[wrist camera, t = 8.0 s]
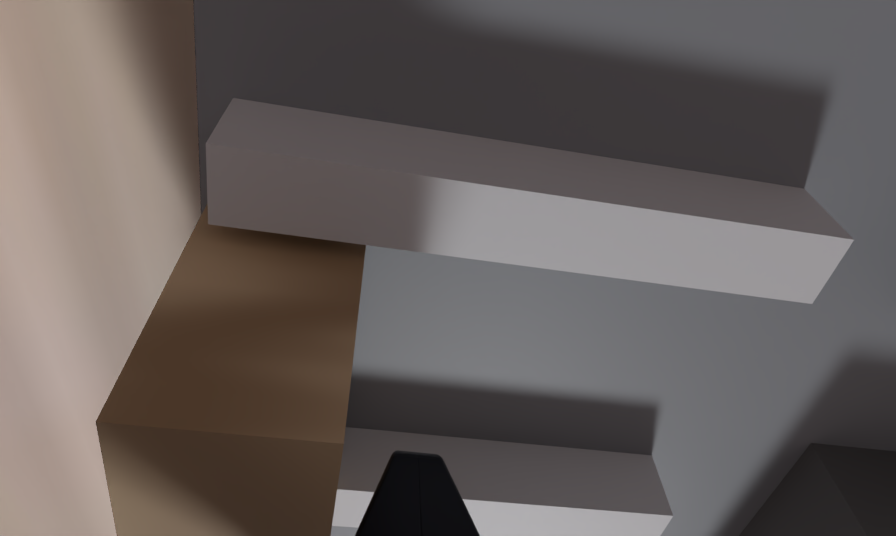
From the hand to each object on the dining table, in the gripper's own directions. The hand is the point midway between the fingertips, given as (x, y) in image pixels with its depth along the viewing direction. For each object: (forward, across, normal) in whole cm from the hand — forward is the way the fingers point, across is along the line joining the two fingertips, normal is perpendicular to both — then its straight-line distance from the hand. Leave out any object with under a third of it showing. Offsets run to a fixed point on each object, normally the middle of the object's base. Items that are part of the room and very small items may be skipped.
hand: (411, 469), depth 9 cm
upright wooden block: (+3, +2, 0) cm, 4 cm away
